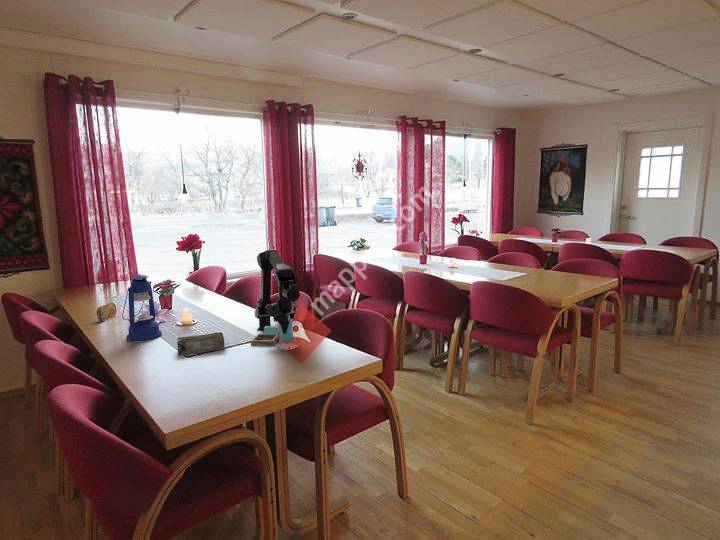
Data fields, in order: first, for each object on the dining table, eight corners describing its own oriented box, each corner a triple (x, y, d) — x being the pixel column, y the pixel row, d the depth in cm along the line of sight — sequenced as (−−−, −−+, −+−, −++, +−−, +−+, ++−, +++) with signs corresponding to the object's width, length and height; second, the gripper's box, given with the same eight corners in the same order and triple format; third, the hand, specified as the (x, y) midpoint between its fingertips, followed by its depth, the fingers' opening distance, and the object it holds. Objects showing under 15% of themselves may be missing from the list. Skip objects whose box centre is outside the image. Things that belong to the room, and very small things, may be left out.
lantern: (146, 343, 209) (141, 278, 204) (117, 341, 212) (111, 277, 207) (169, 332, 225) (164, 272, 220) (142, 330, 228) (136, 271, 224)
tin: (102, 322, 243) (100, 307, 242) (96, 322, 243) (94, 307, 242) (117, 315, 258) (116, 300, 256) (112, 315, 258) (110, 300, 257)
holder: (257, 338, 215) (257, 334, 214) (278, 338, 214) (278, 334, 214) (251, 345, 205) (250, 340, 205) (272, 345, 204) (272, 341, 204)
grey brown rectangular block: (177, 350, 200) (176, 335, 199) (223, 344, 207) (222, 330, 206) (177, 356, 193) (176, 341, 192) (225, 350, 199) (224, 335, 198)
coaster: (279, 343, 206) (279, 342, 206) (299, 344, 206) (299, 343, 205) (274, 350, 197) (274, 349, 197) (295, 351, 197) (295, 350, 197)
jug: (294, 338, 204) (293, 317, 202) (291, 342, 198) (291, 321, 196) (266, 338, 204) (265, 317, 203) (263, 342, 198) (262, 320, 197)
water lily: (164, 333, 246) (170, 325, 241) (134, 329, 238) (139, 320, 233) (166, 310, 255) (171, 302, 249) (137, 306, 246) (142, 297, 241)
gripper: (272, 292, 208) (274, 325, 210) (260, 301, 189) (262, 338, 192) (297, 292, 207) (298, 325, 209) (287, 302, 188) (288, 338, 191)
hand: (286, 331), depth 200 cm, fingers closed on jug, 6 cm apart
